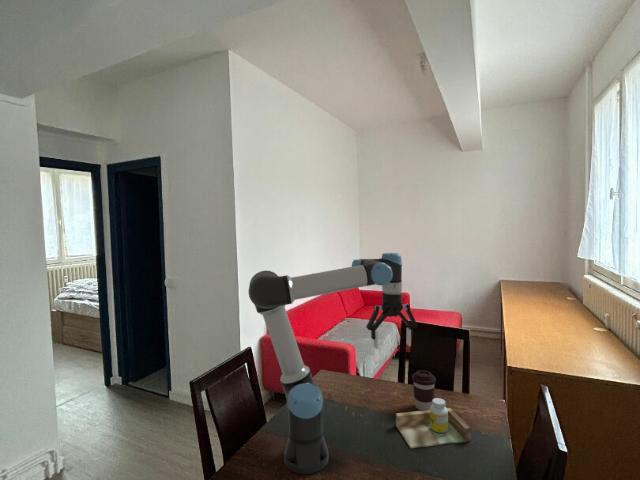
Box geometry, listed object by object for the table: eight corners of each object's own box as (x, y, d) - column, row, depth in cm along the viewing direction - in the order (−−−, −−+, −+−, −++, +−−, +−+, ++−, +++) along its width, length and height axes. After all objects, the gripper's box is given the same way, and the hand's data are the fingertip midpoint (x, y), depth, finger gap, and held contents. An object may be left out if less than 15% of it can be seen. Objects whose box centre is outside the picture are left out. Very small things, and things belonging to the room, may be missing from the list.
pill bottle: (431, 424, 134) (431, 395, 134) (449, 428, 131) (449, 399, 131) (428, 433, 129) (428, 402, 128) (446, 437, 126) (446, 406, 125)
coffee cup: (438, 414, 142) (437, 379, 142) (413, 412, 144) (413, 377, 143) (433, 402, 152) (433, 369, 152) (411, 400, 154) (410, 368, 153)
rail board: (410, 448, 121) (410, 434, 121) (396, 425, 135) (395, 413, 135) (470, 441, 124) (470, 427, 124) (450, 420, 138) (450, 407, 138)
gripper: (363, 295, 128) (364, 351, 129) (426, 293, 132) (426, 347, 132) (358, 292, 136) (359, 344, 136) (418, 289, 139) (418, 341, 140)
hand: (392, 346), depth 134 cm, fingers open, 13 cm apart
